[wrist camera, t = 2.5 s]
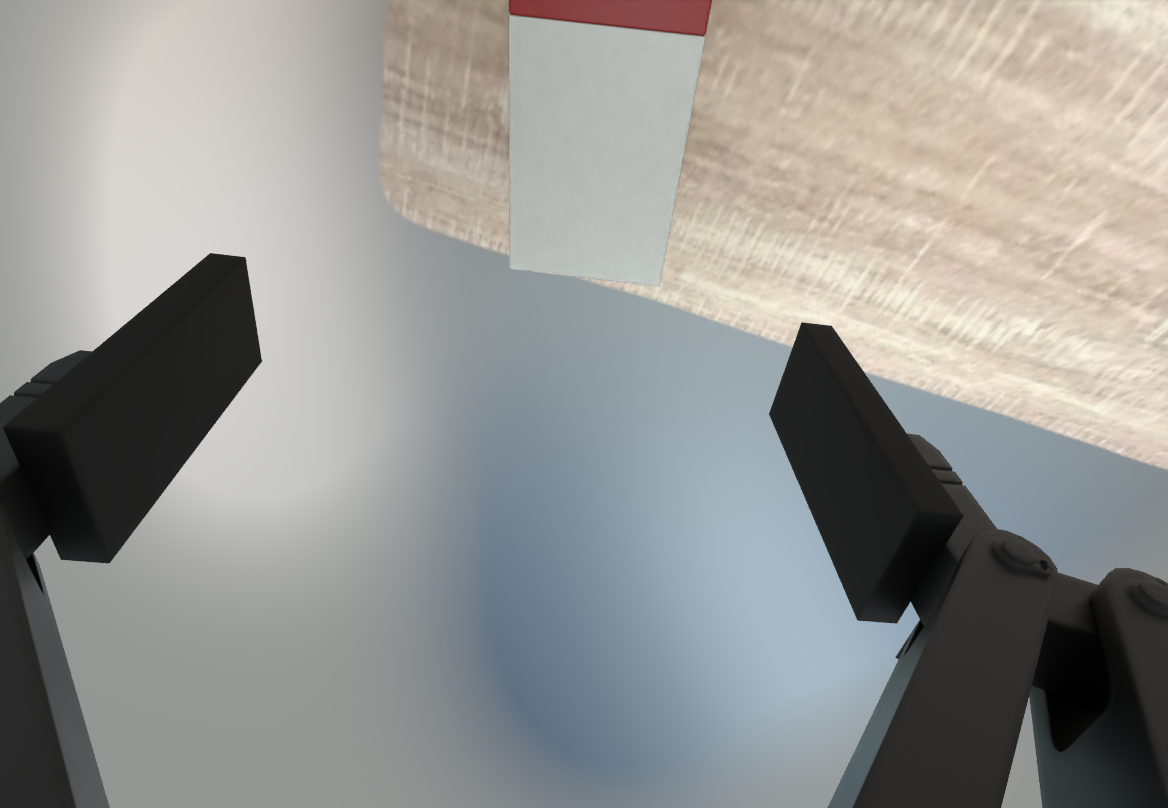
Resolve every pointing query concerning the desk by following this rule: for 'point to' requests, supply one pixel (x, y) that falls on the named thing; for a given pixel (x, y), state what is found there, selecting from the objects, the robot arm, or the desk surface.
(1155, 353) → the desk surface
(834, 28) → the desk surface
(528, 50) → the container
